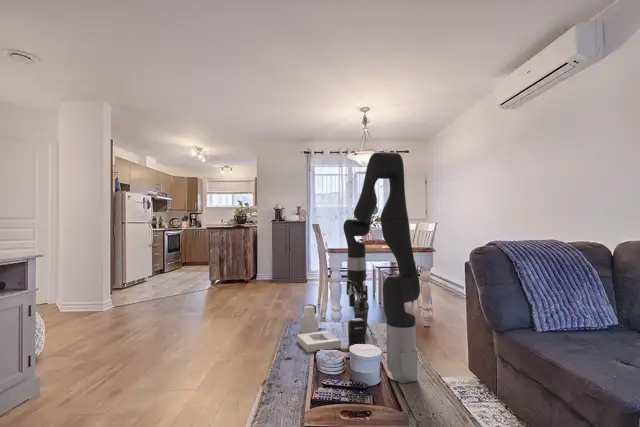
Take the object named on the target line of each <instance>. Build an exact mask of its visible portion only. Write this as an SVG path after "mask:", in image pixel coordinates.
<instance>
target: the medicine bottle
mask: <svg viewBox="0 0 640 427" xmlns="http://www.w3.org/2000/svg"><path fill="white" fill-rule="evenodd" d="M302 314H303V315H302V316H301V317H300V332H301V333H300V334H305V333H313V332H319V328H320V327H319V314H318V313H317V306H316V305H314V304H305V305H303V306H302Z"/></svg>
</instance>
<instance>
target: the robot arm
mask: <svg viewBox="0 0 640 427" xmlns="http://www.w3.org/2000/svg"><path fill="white" fill-rule="evenodd" d="M403 161H404V160H403V157H402V156H401V154H400V153H399V152H394V151H390V152H389V151H376V152H373V153H371V155H370V157H369V160H368V163H367V166H366V169H365V170H366V171H365V175H364V180H363V185H362V189H361V192H360V196H359V198H358V201H357V204H356V206H355V208H354V211H353V216H354V218H347V219H346V220H345V221H344V223H343V228H342V229H343V233H344V236H345V241H346V246H347V262H346V264H347V266H346V269H347V270H346V272H347V273H346V274H347V277H346V278H347V280H346V296H348V298H349V299H348V300H349V301H348V302H349V304H348V306H349V307H354V306H355V301H356V298H357V299H358V300H359V311H360V312H362V311H364V310H365V301H367V302H368V301H369V300H368V299H369V294H368V293H369V292H368V290H369V289H368V285H367V284H365V285H364V282H365V281H366V280H367V260H366V245H365V243H364V242H361V241H357V240H356V238H355V237H364V236H367V235H368V234H369V233H370V230H371V222H372V217H373V214H374V212H375V211H376V207H377V204H378V197H377V192H376V189H375V185H376V183H377V181H378V180H379V179H381V180H382V179H383V180H384V179H385V180H386V179H387V180H389V194H388V197H387V200H386V202H385V203H384V206H383V209H382V212H381V215H380V226H381V227H380V228H381V234H382V238H383V240H384V242H385V244H386V246H387V247H388V248H389V250H390V251H391V253H392V254H393V256H394V258H395V261H396V263H397V268H398V274H392V275H388V276H387V277H386V278H385V280H384V281H383V286H382V296H383V312H384V315H385V319H386V370H387V369H388V370H389V371H390V372H391V373H392V374H393V376H394V377H395V379H396V380H397V381H398V382H397V383H399V384H400V385H401V384H402V385H403V384H407V383H413V382H417V381H419V379H418V373H419V372H418V350H416V347H417V345H416V341H417V340H416V317H415V315H414V314H413V313H410V312H407V311H406V308H405V304H406V303H410V302H411V303H412V302H415V301H417V300H418V299H419V297H420V294H421V284H420V278H419V274H418V271H417V265H416V262H415V258H414V251H413V245H412V238H411V229H410V221H409V215H408V210H407V199H406V191H405V190H406V189H405V167H404V162H403Z"/></svg>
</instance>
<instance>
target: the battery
mask: <svg viewBox="0 0 640 427" xmlns="http://www.w3.org/2000/svg"><path fill="white" fill-rule="evenodd" d="M365 333H366V334H367V330H366V323H365V321H364V320H363V319H355V318H352V319H349V320H348V322H347V339H348V342H347V343H348V344H347V345H348V348H349V346H351V345H354V344H365V345H366V334H365Z"/></svg>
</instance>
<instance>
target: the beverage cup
mask: <svg viewBox="0 0 640 427" xmlns="http://www.w3.org/2000/svg"><path fill="white" fill-rule="evenodd" d="M369 308H370V306H369V303H368V301H365V310H364V311H362V312H360V311H359V300H358V298H357V299H355V306H354V307H353V308H352V309H353V312H354V319H363V320H364V321H365V323H366V331H368V330H367V328H368V315H369V310H370V309H369ZM366 334H367V332H366V333H365V335H366Z"/></svg>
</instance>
